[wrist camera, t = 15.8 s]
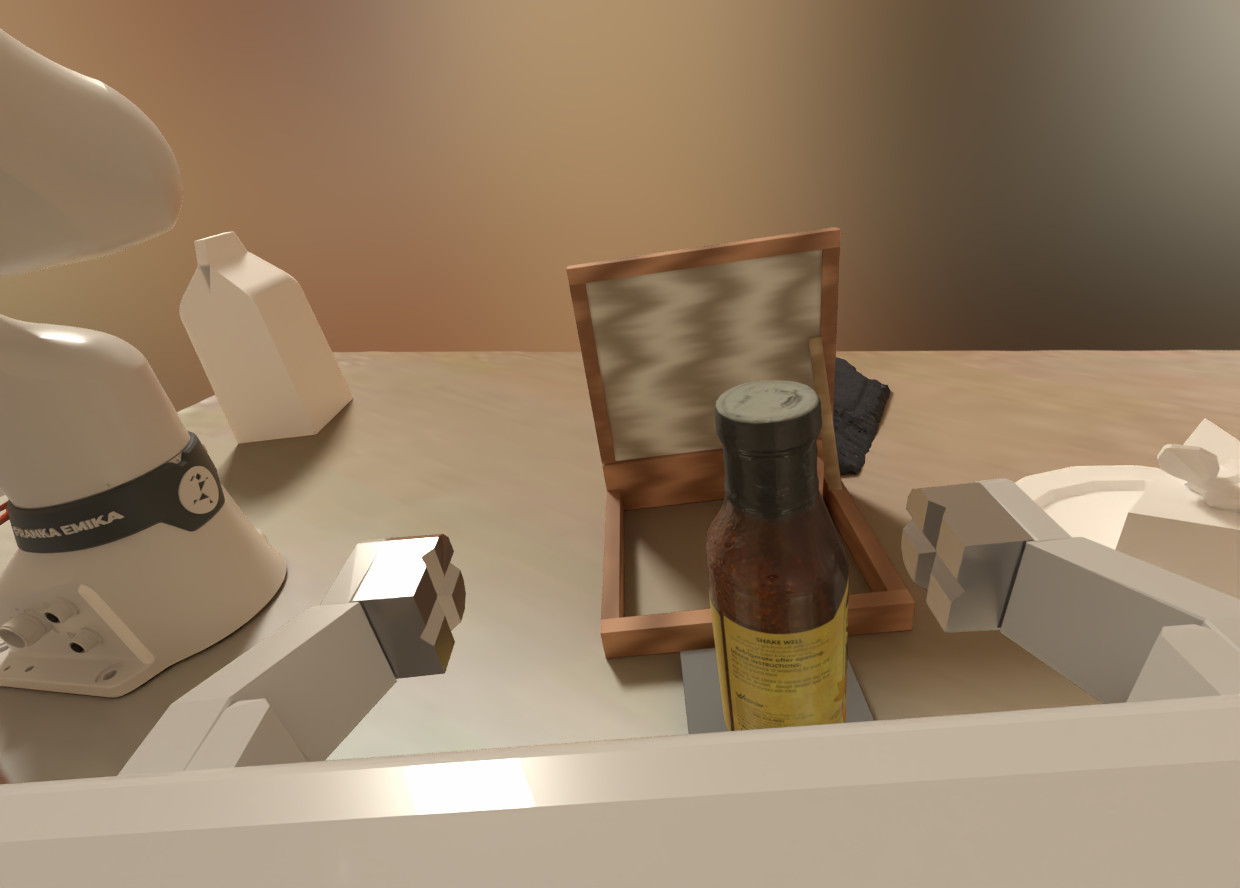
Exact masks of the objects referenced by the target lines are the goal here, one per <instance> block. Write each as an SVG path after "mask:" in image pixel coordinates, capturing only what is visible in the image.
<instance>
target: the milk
mask: <svg viewBox="0 0 1240 888" xmlns="http://www.w3.org/2000/svg"><path fill="white" fill-rule="evenodd" d="M195 249H196V256H197V263H198V268H197V269H196V272H195V273H194V275H193V278H192V280H191V282H190V284H189V286H188V288H187V290H186V292H185V294H184V296H183V298H182V301H181V303H180V308H179V310H180V311H179V312H180V317H181V320H182V322H183V325H184V327H185V329H186V331H187V333H188V335H189V338H190V340H191V342H192V344H193V346H194V349H195V351H196V353H197V355H198V357H199V359H200V362H201V364H202V366H203V368H204V370H205V372H206V374H207V377H208V379H209V381H210V383H211V386H212V388H213V390H214V392H215V394H216V397H217V399H218V401H219V403H220V405H221V407H222V410H223V412H224V414H225V416H226V418H227V420H228V423H229V425H230V427H231V429H232V431H233V434H234V436H235V438H236V440H237V442H238V444H240V443H248V442H257V441H265V440H273V439H282V438H290V437H299V436H307V435H316V434H317V433H318V432H319V431H320V430H321V429H322V428H323V427H324V426H325V425H326V424H327V423H328V422H329V421H330V420H331V419H332V418H333V417H335V416H336V415H337V414H338V413H339V412H340V411H341V410H342V409H343V408H344V407H345V406H346V405H347V404H348V403H349V402H350V401H351V400H352V399H353V395H352V393H351V391H350V389H349V387H348V385H347V383H346V381H345V379H344V376H343V374H342V372H341V370H340V368H339V366H338V364H337V362H336V360H335V357H334V355H333V353H332V351H331V349H330V347H329V345H328V343H327V341H326V338H325V337H324V334H323V332H322V330H321V328H320V326H319V324H318V322H317V319H316V317H315V315H314V313H313V311H312V309H311V307H310V305H309V303H308V301H307V298H306V296H305V294H304V292H303V290H302V288H301V286H300V285H299V283H298V282H297V281H296V280H295V279H294V278H293V277H292V276H291V275H289V274H287V273H286V272H284V271H283V270H281V269H279V268H277V267H275V266H273V265H271V264H270V263H268V262H266V261H264V260H263V259H261V258H259V257H257V256H255V255H253V254H252V253H250V252H247V250H246V248H245V247H244V245H243V244H242V242H241V241H240V240H239V238H238V237H237V235H236V234H235V232H227V233H222V234H218V235H215V236H211V237H207V238H204V239H200V240H197V241H195Z"/></svg>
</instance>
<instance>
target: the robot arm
mask: <svg viewBox="0 0 1240 888" xmlns="http://www.w3.org/2000/svg"><path fill="white" fill-rule="evenodd" d="M182 194H183V191H182V180H181V175H180V170H179V167H178V164H177V161H176V159H175V156H174V154H173V152H172V150H171V148H170V146H169V145H168V143H167V141H166V140H165V138H164V137H163V135H162V134H161V132H160V131H159V130H158V128H157V127H156V126H155V125H154V123H153V122H152V121H151V120H150V119H149V118H148V117H147V116H146V115H145V114H144V113H143V112H142V111H141V110H140V109H139V108H138V107H137V106H136V105H134V104H133V103H132V102H131V101H129V100H128V99H127V98H126V97H124V96H123V95H122V94H120V93H118V92H117V91H116V90H114V89H112V88H111V87H109V86H108V85H106V84H104V83H102V82H101V81H98V80H96V79H93V78H90V77H87V76H84V75H82V74H79V73H77V72H75V71H72V70H70V69H67V68H65V67H63V66H61V65H59V64H57V63H55V62H53V61H51V60H49V59H47V58H45V57H44V56H42V55H40V54H38V53H37V52H35V51H33V50H32V49H30V48H28V47H27V46H25V45H24V44H22V43H21V42H19V41H17V40H16V39H14V38H13V37H11V36H10V35H8V34H7V33H6V32H4V31H3V30H2V29H0V278H1V277H6V276H11V275H15V274H20V273H26V272H30V271H36V270H41V269H46V268H51V267H56V266H60V265H65V264H70V263H76V262H80V261H86V260H91V259H95V258H101V257H105V256H108V255H111V254H113V253H116V252H119V251H121V250H124V249H126V248H129V247H131V246H134V245H137V244H139V243H141V242H144V241H146V240H149V239H151V238H153V237H156V236H158V235H160V234H163V233H165V232H167V231H170V230H171V229H172V228H173V226H174V224H175V223H176V221H177V218H178V216H179V213H180V209H181V205H182V196H183V195H182ZM207 452H208V451H207V450H206V448H205V446H204V445H203V444H201V442H200V440H199V439H198V437H197V436H196V435H195V434H194V433H192V432H189V431H187V430H186V428H185V426H184V425H183V423H182V421H181V419H180V418H179V416H178V414H177V412H176V410H175V409H174V407H173V405H172V403H171V402H170V400H169V399H168V396H167V395H166V393H165V391H164V390H163V388H162V386H161V384H160V382H159V381H158V379H157V377H156V375H155V374H154V372H153V370H152V368H151V367H150V365H149V363H148V361H147V360H146V358H145V357H144V356H143V355H142V354H141V353H140V352H139V351H138V350H137V349H136V348H135V347H133V346H132V345H130V344H129V343H127V342H126V341H124V340H122V339H120V338H118V337H115V336H113V335H110V334H107V333H103V332H99V331H95V330H90V329H84V328H78V327H70V326H61V325H53V324H41V323H31V322H25V321H19V320H15V319H12V318H9V317H6V316H3V315H1V314H0V489H1V490H2V491H3V492H4V493H5V495H6V496H7V497H8V499H9V501H7V502H5V503H4V504H2V505H0V511H2V510H4V509H6V513H4V514H3V515H1V516H0V525H1V524H3V523H4V522H6V521H7V520H9V519H10V522H11V526H12V529H13V532H14V535H15V539H16V542H17V545H18V547H19V548H18V550H17V551H16V553H15V554H14V556H13V557H12V559H11V560H10V562H9V563H8V565H7V567H6V568H5V570H4V571H3V572H2V574H1V575H0V637H1V640H0V686H6V687H16V688H25V689H35V690H44V691H54V692H63V693H73V694H82V695H92V696H102V697H119V696H122V695H124V694H127V693H129V692H130V691H132V690H134V689H136V688H137V687H139V686H140V685H142V684H144V683H145V682H147V681H148V680H149V679H151V678H152V677H154V676H155V675H157V674H158V673H160V672H161V671H163V670H164V669H165V668H167V667H169V666H171V665H173V664H175V663H177V662H179V661H181V660H183V659H185V658H187V657H189V656H191V655H193V654H196V653H198V652H200V651H202V650H204V649H206V648H208V647H209V646H211V645H213V644H215V643H216V642H218V641H220V640H222V639H223V638H225V637H226V636H228V635H230V634H231V633H232V632H234V631H235V630H237V629H238V628H240V627H241V626H242V625H244V624H245V623H246V622H248V621H249V620H250V619H251V618H252V617H254V616H255V615H256V614H257V613H258V612H259V611H260V610H261V609H262V608H263V607H264V606H265V605H266V604H267V603H268V602H269V601H270V600H271V599H272V598H273V596H274V595H275V594H276V592H277V591H278V589H279V588H280V586H281V584H282V582H283V580H284V578H285V575H286V570H287V566H286V561H285V559H284V558H283V556H282V555H280V554H279V553H278V552H277V551H276V550H275V549H274V548H273V547H272V546H271V545H270V544H269V543H268V542H267V538H266V537H265V535H264V534H263V532H262V531H261V530H260V529H258V528H255V527H254V526H253V525H252V523H251V522H250V521H249V519H248V518H247V517H246V515H245V514H244V513H243V512H242V510H241V509H240V508H239V506H238V505H237V504H236V502H235V501H234V500H233V498H232V497H231V496H230V494H229V493H228V492H227V490H226V489H225V488H224V486H223V485H222V484H221V483H220V480H219V477H218V474H217V469H216V467H215V466H214V464H213V462H212V460H211V459H210V457H209V455H208V453H207ZM906 510H907V511H908V512H909V514H910V515H911V517H912V518H913V519H912V520H911V521H910V522H909V523H908V524H907V525H906V526H905V527H904V528H903V531H902V540H901V549H902V556H903V561H904V564H905V567H906V569H907V572H908V573H909V575H910V577H911V579H912V580H913V582H914V583H916V584H917V585H919V586H921V587H922V588H924V589H926V590H928V593H927V598H926V603H927V605H928V606H929V608H930V609H931V611H932V613H933V614H934V616H935V617H936V619H937V621H938V622H939V624H940V625H941V627H942V629H943V630H944V632H945V633H949V632H967V631H985V630H1000V633H1002V634H1003V635H1005V636H1006V637H1007V638H1009V639H1010V640H1012V641H1013V642H1015V643H1016V644H1018V645H1019V646H1020V647H1022V648H1023V649H1025V650H1026V651H1028V652H1029V653H1031V654H1032V655H1033V656H1035V657H1036V658H1038V659H1039V660H1041V661H1042V662H1044V663H1045V664H1046V665H1048V666H1049V667H1051V668H1052V669H1054V670H1055V671H1057V672H1058V673H1059V674H1061V675H1062V676H1064V677H1065V678H1067V679H1068V680H1070V681H1071V682H1072V683H1074V684H1075V685H1077V686H1078V687H1080V688H1081V689H1083V690H1084V691H1085V692H1087V693H1088V694H1090V695H1091V696H1093V697H1094V698H1096V699H1097V700H1098V701H1100V702H1101V703H1103V704H1098V705H1084V706H1070V707H1057V708H1043V709H1029V710H1016V711H1002V712H988V713H975V714H961V715H947V716H933V717H919V718H905V719H892V720H878V721H864V722H850V723H836V724H822V725H808V726H794V727H781V728H767V729H753V730H740V731H726V732H712V733H699V734H685V735H671V736H657V737H644V738H630V739H616V740H603V741H589V742H575V743H562V744H548V745H534V746H520V747H507V748H493V749H479V750H466V751H452V752H438V753H425V754H411V755H397V756H383V757H370V758H356V759H342V760H329V761H325V760H326V759H327V757H328V756H329V755H330V754H331V753H332V752H333V751H334V750H335V749H336V748H337V747H338V745H339V744H340V743H341V742H342V741H343V740H344V739H345V738H346V737H347V736H348V734H349V733H350V732H351V731H352V730H353V729H354V728H355V727H356V726H357V725H358V723H359V722H360V721H361V720H362V719H363V718H364V717H365V716H366V715H367V714H368V712H369V711H370V710H371V709H372V708H373V707H374V706H375V705H376V704H377V703H378V701H379V700H380V699H381V698H382V697H383V696H384V695H385V694H386V693H387V692H388V690H389V689H390V688H391V687H392V686H393V685H394V684H395V683H396V682H397V680H396V679H398V678H407V677H416V676H425V675H434V674H444V673H445V671H446V668H447V665H448V662H449V659H450V656H451V652H452V649H453V646H454V643H455V641H454V638H453V636H452V633H451V631H452V630H453V629H454V628H455V627H456V626H457V625H458V624H459V623H460V622H461V620H462V617H463V613H464V610H465V595H466V592H465V586H464V580H463V577H462V574H461V571H460V570H459V569H458V568H457V567H455V566H454V565H453V564H451V563H450V561H451V558H452V555H453V552H454V550H453V548H452V545H451V543H450V540H449V538H448V537H447V536H446V535H444V534H435V535H421V536H408V537H394V538H390V539H388V538H384V539H373V540H364V541H362V542H360V543H358V544H357V545H356V547H355V548H354V550H353V551H352V553H351V555H350V556H349V558H348V560H347V561H346V563H345V565H344V566H343V568H342V570H341V571H340V573H339V574H338V576H337V578H336V579H335V581H334V583H333V584H332V586H331V588H330V589H329V591H328V593H327V594H326V596H325V597H324V599H323V601H322V602H321V604H320V605H318V606H311V607H309V608H308V609H306V610H305V611H303V612H302V613H301V614H299V615H298V616H296V617H295V618H293V619H292V620H291V621H289V622H288V623H286V624H285V625H283V626H282V627H281V628H279V629H278V630H276V631H275V632H273V633H272V634H271V635H269V636H268V637H266V638H265V639H263V640H262V641H260V642H259V643H258V644H256V645H255V646H253V647H252V648H250V649H249V650H248V651H246V652H245V653H243V654H242V655H240V656H239V657H238V658H236V659H235V660H233V661H232V662H230V663H229V664H228V665H226V666H225V667H223V668H222V669H220V670H219V671H217V672H216V673H215V674H213V675H212V676H210V677H209V678H207V679H206V680H205V681H203V682H202V683H200V684H199V685H197V686H196V687H195V688H193V689H192V690H190V691H189V692H187V693H186V694H185V695H183V696H182V697H180V698H179V699H177V700H176V701H174V702H173V703H172V704H171V705H170V706H169V707H168V709H167V710H166V711H165V713H164V714H163V715H162V717H161V718H160V719H159V721H158V722H157V723H156V725H155V726H154V727H153V729H152V730H151V731H150V733H149V734H148V735H147V737H146V738H145V739H144V741H143V742H142V743H141V745H140V746H139V747H138V748H137V750H136V751H135V752H134V754H133V755H132V756H131V758H130V759H129V760H128V762H127V763H126V764H125V766H124V767H123V768H122V770H121V771H120V772H119V774H118V775H117V776H109V777H95V778H82V779H68V780H54V781H40V782H27V783H13V784H1V785H0V888H1240V599H1238V598H1235V597H1233V596H1230V595H1228V594H1225V593H1223V592H1220V591H1218V590H1215V589H1213V588H1210V587H1208V586H1205V585H1203V584H1200V583H1198V582H1195V581H1193V580H1190V579H1188V578H1185V577H1183V576H1180V575H1177V574H1175V573H1172V572H1170V571H1167V570H1165V569H1162V568H1160V567H1157V566H1155V565H1152V564H1150V563H1147V562H1145V561H1142V560H1140V559H1137V558H1135V557H1132V556H1130V555H1127V554H1125V553H1122V552H1119V551H1117V550H1114V549H1112V548H1109V547H1107V546H1104V545H1102V544H1099V543H1097V542H1094V541H1092V540H1089V539H1087V538H1084V537H1074V538H1072V537H1071V536H1070V535H1069V534H1068V533H1067V532H1066V531H1065V530H1064V529H1063V528H1061V527H1060V526H1059V525H1058V524H1057V523H1056V522H1055V521H1054V520H1053V519H1052V518H1051V517H1050V516H1049V515H1048V514H1047V513H1046V512H1045V511H1044V510H1042V509H1041V508H1040V507H1039V506H1038V505H1037V504H1036V503H1035V502H1034V501H1033V500H1032V499H1031V498H1030V497H1029V496H1028V495H1027V494H1026V493H1025V492H1023V491H1022V490H1021V489H1020V488H1019V487H1018V486H1017V485H1016V484H1015V483H1014V482H1013V481H1011V480H1008V479H1005V478H1001V479H993V480H985V481H977V482H973V483H968V484H958V485H948V486H938V487H928V488H918V489H912V490H911V492H910V494H909V496H908V500H907V505H906Z"/></svg>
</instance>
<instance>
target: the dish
mask: <svg viewBox="0 0 1240 888" xmlns="http://www.w3.org/2000/svg"><path fill="white" fill-rule="evenodd" d="M1157 460H1158V463H1159V465H1160V468H1153V467H1145V466H1137V465H1120V466H1072V467H1068V468H1063V469H1058V470H1054V471H1049V472H1045V473H1040V474H1035V475H1031V476H1026V477H1024V478H1022V479H1020V480H1019V481H1017V482H1015V484H1016V485H1017V486H1018V487H1019V488H1020V489H1021V490H1022V491H1023V492H1025V493H1026V494H1027V495H1028V496H1029V497H1030V498H1031V499H1032V500H1033V501H1034V502H1035V503H1036V504H1037V505H1038V506H1039V507H1040V508H1041V509H1042V510H1044V511H1045V512H1046V513H1047V514H1048V515H1049V516H1050V517H1051V518H1052V519H1053V520H1054V521H1055V522H1056V523H1057V524H1058V525H1059V526H1060V527H1061V528H1063V529H1064V530H1065V531H1066V532H1067V533H1068V534H1069V535H1070V536H1071V537H1072V538H1074V537H1084V538H1087V539H1089V540H1092V541H1094V542H1097V543H1099V544H1102V545H1104V546H1107V547H1109V548H1112V549H1114V550H1117V551H1119V552H1122V553H1125V554H1127V555H1130V556H1132V557H1135V558H1137V559H1140V560H1142V561H1145V562H1147V563H1150V564H1152V565H1155V566H1157V567H1160V568H1162V569H1165V570H1167V571H1170V572H1172V573H1175V574H1177V575H1180V576H1183V577H1185V578H1188V579H1190V580H1193V581H1195V582H1198V583H1200V584H1203V585H1205V586H1208V587H1210V588H1213V589H1215V590H1218V591H1220V592H1223V593H1225V594H1228V595H1230V596H1233V597H1235V598H1238V599H1240V441H1239V440H1237V439H1236V438H1234V437H1233V436H1231V435H1230V434H1228V433H1227V432H1225V431H1224V430H1222V429H1221V428H1219V427H1218V426H1216V425H1215V424H1213V423H1212V422H1210V421H1209V420H1207V419H1206V418H1204V420H1203V421H1202V422H1201V423H1200V425H1199V426H1198V427H1197V428H1196V429H1195V431H1194V432H1193V433H1192V434H1191V436H1190V437H1189V438H1188V439H1187V441H1186V442H1185V443H1184V444H1183V445H1177V444H1168V445H1164V447H1163V448H1162V450H1161V451H1160V452H1159V454H1158V455H1157Z"/></svg>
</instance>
